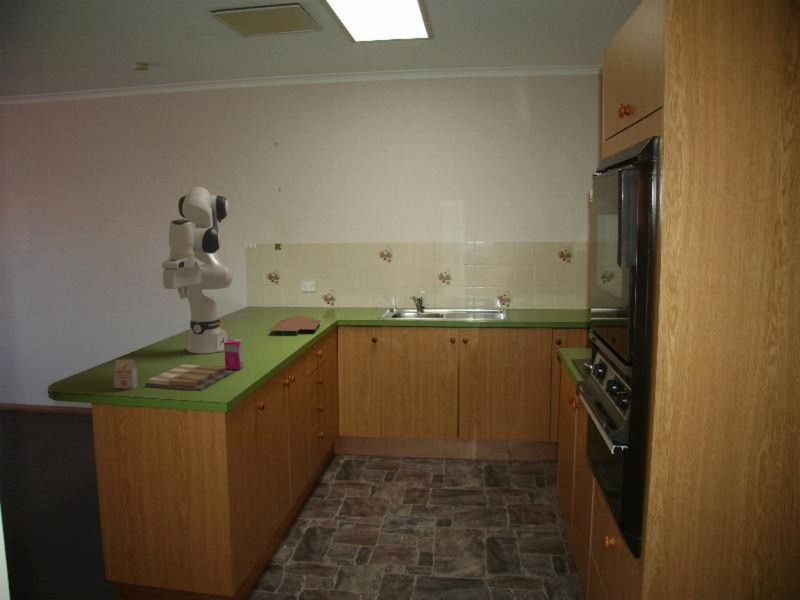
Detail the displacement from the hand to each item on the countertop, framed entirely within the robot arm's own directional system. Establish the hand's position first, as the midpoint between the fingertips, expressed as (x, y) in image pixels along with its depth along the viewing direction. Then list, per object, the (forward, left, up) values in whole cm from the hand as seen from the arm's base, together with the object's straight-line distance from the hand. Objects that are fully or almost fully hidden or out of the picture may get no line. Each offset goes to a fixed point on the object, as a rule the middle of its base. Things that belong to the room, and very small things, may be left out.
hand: (183, 298), depth 217 cm
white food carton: (+24, -9, -29) cm, 39 cm away
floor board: (+10, +8, -29) cm, 32 cm away
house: (-90, +10, -30) cm, 96 cm away
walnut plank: (+10, +11, -28) cm, 32 cm away
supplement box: (-8, +16, -29) cm, 34 cm away
